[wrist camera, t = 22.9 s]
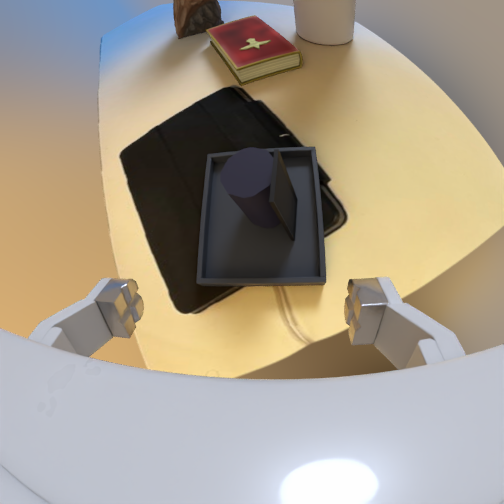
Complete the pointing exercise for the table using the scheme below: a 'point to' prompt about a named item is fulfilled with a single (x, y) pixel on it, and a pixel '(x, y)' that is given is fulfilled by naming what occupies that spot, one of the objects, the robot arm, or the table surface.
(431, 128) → the table surface
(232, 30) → the hardcover book
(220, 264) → the shallow rimmed tray
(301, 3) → the cylinder vase
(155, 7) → the table surface
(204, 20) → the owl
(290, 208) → the speaker
